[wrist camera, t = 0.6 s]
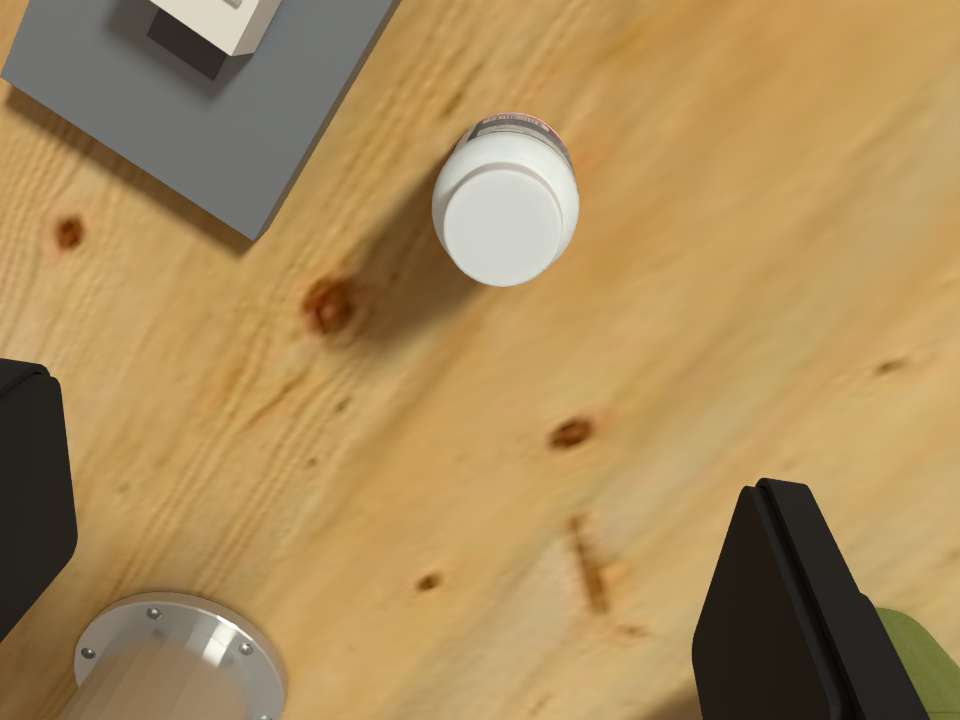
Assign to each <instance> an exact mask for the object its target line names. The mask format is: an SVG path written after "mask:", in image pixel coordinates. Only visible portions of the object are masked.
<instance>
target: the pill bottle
mask: <svg viewBox="0 0 960 720" xmlns="http://www.w3.org/2000/svg"><path fill="white" fill-rule="evenodd" d="M578 215H579V194H578V189H577V185H576V180H575V175H574V171H573V167H572V163H571V159H570V156H569V154H568V151H567V149H566V147H565V145H564V143H563V141H562V140H561V138H560V137H559V136H558V134H557V133H556V132H555V131H554V130H553V129H552V128H551V127H550V126H548V125H547V124H546V123H545V122H543V121H541V120H539V119H538V118H536V117H533V116H530V115H527V114H523V113H500V114H495V115H492V116H489V117H487V118H485V119H483V120H481V121H479V122H478V123H476V124H475V125H474V126H472V127H471V128H470V129H469V130H468V131H467V132H466V133H465V134H464V135H463V137H462V138H461V139H460V140H459V142H458V143H457V145H456V146H455V148H454V150H453V152H452V154H451V155H450V157H449V159H448V160H447V161H446V163H445V164H444V166H443V167H442V169H441V171H440V174H439V176H438V178H437V181H436V183H435V187H434V192H433V197H432V218H433V223H434V227H435V231H436V234H437V236H438V239H439V241H440V242H441V244H442V246H443V247H444V249H445V250H446V252H447V253H448V254H449V255H450V257H451V258H452V260H453V261H454V263H455V264H456V265H457V267H458V268H459V269H460V270H461V271H463V272H464V273H465V274H466V275H468V276H469V277H471V278H472V279H474V280H476V281H478V282H480V283H483V284H486V285H490V286H496V287H510V286H516V285H520V284H523V283H525V282H528V281H530V280H532V279H533V278H535V277H537V276H538V275H539V274H540V273H542V272H543V271H544V270H545V269H546V268H548V267H549V266H550V265H551V264H553V263H554V262H555V261H556V260H557V259H558V258H559V257H560V256H561V254H562V253H563V252H564V250H565V249H566V248H567V246H568V244H569V242H570V240H571V238H572V236H573V234H574V231H575V228H576V225H577V221H578Z"/></svg>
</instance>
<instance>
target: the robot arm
mask: <svg viewBox="0 0 960 720" xmlns="http://www.w3.org/2000/svg"><path fill="white" fill-rule="evenodd" d="M77 539H78V532H77V524H76V515H75V506H74V498H73V489H72V480H71V472H70V463H69V454H68V446H67V437H66V428H65V420H64V411H63V403H62V394H61V387H60V383H59V382H58V380H57V379H56V378H54V377H51V376H50V373H49V372H48V370H47V368H46V367H44V366H43V365H41V364H36V363H29V362H23V361H16V360H10V359H4V358H0V643H1V642H2V640H3V639H4V638H5V637H6V636H7V634H8V633H9V632H10V631H11V630H12V629H13V627H14V626H15V625H16V624H17V623H18V621H19V620H20V619H21V618H22V617H23V615H24V614H25V613H26V612H27V611H28V610H29V608H30V607H31V606H32V605H33V604H34V602H35V601H36V600H37V599H38V598H39V596H40V595H41V594H42V593H43V592H44V591H45V589H46V588H47V587H48V586H49V585H50V583H51V582H52V581H53V580H54V579H55V577H56V576H57V575H58V574H59V573H60V572H61V570H62V569H63V568H64V567H65V566H66V564H67V563H68V562H69V560H70V559H71V558H72V556H73V553H74V551H75V548H76V545H77ZM692 663H693V669H694V674H695V680H696V685H697V690H698V695H699V700H700V706H701V711H702V716H703V720H930V718H929V716H928V714H927V712H926V710H925V708H924V706H923V704H922V702H921V700H920V698H919V696H918V694H917V692H916V690H915V688H914V686H913V684H912V682H911V680H910V678H909V676H908V674H907V672H906V670H905V668H904V666H903V664H902V661H901V659H900V657H899V655H898V653H897V651H896V649H895V647H894V645H893V643H892V641H891V639H890V637H889V635H888V633H887V631H886V629H885V627H884V625H883V623H882V621H881V619H880V617H879V615H878V613H877V611H876V609H875V607H874V605H873V604H872V603H871V601H870V600H869V598H868V597H867V596H865V595H864V594H862V593H860V591H859V589H858V587H857V585H856V583H855V581H854V579H853V577H852V575H851V573H850V571H849V569H848V567H847V565H846V563H845V560H844V558H843V556H842V554H841V552H840V550H839V548H838V546H837V544H836V542H835V540H834V538H833V536H832V534H831V532H830V530H829V528H828V526H827V523H826V521H825V519H824V517H823V515H822V513H821V511H820V509H819V507H818V505H817V503H816V501H815V499H814V497H813V495H812V493H811V491H810V489H809V487H808V486H807V485H805V484H801V483H795V482H788V481H782V480H776V479H769V478H761V479H759V481H758V482H757V484H756V486H755V487H751V486H745V487H743V489H742V490H741V493H740V495H739V498H738V501H737V504H736V507H735V510H734V513H733V516H732V519H731V522H730V526H729V529H728V532H727V535H726V538H725V541H724V544H723V547H722V550H721V553H720V556H719V559H718V562H717V566H716V569H715V572H714V575H713V578H712V581H711V584H710V587H709V590H708V593H707V596H706V599H705V602H704V605H703V609H702V612H701V615H700V618H699V621H698V624H697V627H696V630H695V633H694V637H693V643H692ZM73 666H74V673H75V679H76V683H77V685H78V690H77V691H76V692H75V694H74V695H73V697H72V698H71V700H70V701H69V703H68V704H67V706H66V707H65V709H64V710H63V711H62V713H61V714H60V716H59V717H58V719H57V720H280V718H281V716H282V713H283V711H284V708H285V704H286V700H287V679H286V675H285V671H284V667H283V664H282V662H281V660H280V658H279V656H278V654H277V652H276V651H275V649H274V648H273V647H272V645H271V644H270V643H269V641H268V640H267V639H266V637H265V636H264V635H263V634H262V633H261V632H260V631H258V630H257V629H256V628H255V627H254V626H253V625H252V624H251V623H250V622H248V621H247V620H245V619H244V618H242V617H241V616H239V615H238V614H236V613H235V612H233V611H232V610H230V609H227V608H225V607H223V606H221V605H219V604H217V603H215V602H212V601H209V600H206V599H203V598H200V597H196V596H193V595H187V594H181V593H174V592H150V593H143V594H137V595H132V596H130V597H127V598H124V599H121V600H118V601H116V602H114V603H113V604H111V605H110V606H108V607H106V608H105V609H103V610H102V611H101V612H100V613H99V614H98V615H97V616H96V617H95V618H94V619H93V620H92V621H91V623H90V624H89V626H88V627H87V628H86V630H85V631H84V633H83V634H82V636H81V637H80V639H79V641H78V644H77V646H76V649H75V656H74V665H73Z"/></svg>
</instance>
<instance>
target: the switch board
mask: <svg viewBox="0 0 960 720" xmlns="http://www.w3.org/2000/svg"><path fill="white" fill-rule="evenodd" d="M400 2H401V0H282V1H281V3H280V5H279V6H278V8H277V10H276V12H275V14H274V16H273V18H272V20H271V22H270V24H269V26H268V27H267V29H266V31H265V33H264V35H263V37H262V39H261V41H260V43H259V45H258V47H257V49H256V50H255V52H254V53H249V54H242V55H236V56H230V55H228V54H227V53H226V52H224V51H223V50H221V49H220V48H218V47H217V46H215V45H214V44H213V43H211V42H210V41H208V40H207V39H205V38H204V37H202V36H201V35H200V34H198V33H197V32H195V31H194V30H192V29H191V28H189V27H188V26H187V25H185V24H184V23H182V22H181V21H179V20H178V19H176V18H175V17H173V16H172V15H171V14H169V13H168V12H166V11H165V10H163V9H162V8H160V7H159V6H158V5H156V4H155V3H153V2H152V1H150V0H30V2H29V4H28V7H27V9H26V12H25V14H24V17H23V19H22V22H21V24H20V27H19V29H18V32H17V34H16V37H15V39H14V42H13V45H12V47H11V50H10V52H9V55H8V57H7V60H6V62H5V65H4V67H3V70H2V72H1V75H0V77H1V78H3V79H4V80H6V81H7V82H9V83H10V84H12V85H13V86H15V87H16V88H18V89H20V90H21V91H23V92H24V93H26V94H27V95H29V96H30V97H32V98H33V99H35V100H37V101H38V102H40V103H41V104H43V105H44V106H46V107H47V108H49V109H50V110H52V111H53V112H55V113H57V114H58V115H60V116H61V117H63V118H64V119H66V120H67V121H69V122H70V123H72V124H73V125H75V126H77V127H78V128H80V129H81V130H83V131H84V132H86V133H87V134H89V135H90V136H92V137H93V138H95V139H97V140H98V141H100V142H101V143H103V144H104V145H106V146H107V147H109V148H110V149H112V150H113V151H115V152H117V153H118V154H120V155H121V156H123V157H124V158H126V159H127V160H129V161H130V162H132V163H133V164H135V165H137V166H138V167H140V168H141V169H143V170H144V171H146V172H147V173H149V174H150V175H152V176H154V177H155V178H157V179H158V180H160V181H161V182H163V183H164V184H166V185H167V186H169V187H170V188H172V189H174V190H175V191H177V192H178V193H180V194H181V195H183V196H184V197H186V198H187V199H189V200H190V201H192V202H194V203H195V204H197V205H198V206H200V207H201V208H203V209H204V210H206V211H207V212H209V213H210V214H212V215H214V216H215V217H217V218H218V219H220V220H221V221H223V222H224V223H226V224H227V225H229V226H230V227H232V228H234V229H235V230H237V231H238V232H240V233H241V234H243V235H244V236H246V237H247V238H249V239H250V240H252V241H254V240H256V239H257V238H258V237H259V236H261V235H262V234H263V233H264V232H266V231H267V230H268V228H269V227H270V225H271V223H272V222H273V220H274V218H275V216H276V215H277V213H278V211H279V210H280V208H281V206H282V204H283V203H284V201H285V199H286V198H287V196H288V194H289V192H290V191H291V189H292V187H293V186H294V184H295V182H296V180H297V179H298V177H299V175H300V174H301V172H302V170H303V168H304V167H305V165H306V163H307V162H308V160H309V158H310V156H311V155H312V153H313V151H314V150H315V148H316V146H317V144H318V143H319V141H320V139H321V138H322V136H323V134H324V132H325V131H326V129H327V127H328V126H329V124H330V122H331V120H332V119H333V117H334V115H335V114H336V112H337V110H338V108H339V107H340V105H341V103H342V102H343V100H344V98H345V96H346V95H347V93H348V91H349V90H350V88H351V86H352V84H353V83H354V81H355V79H356V78H357V76H358V74H359V72H360V71H361V69H362V67H363V66H364V64H365V62H366V60H367V59H368V57H369V55H370V54H371V52H372V50H373V48H374V47H375V45H376V43H377V42H378V40H379V38H380V36H381V35H382V33H383V31H384V30H385V28H386V26H387V24H388V23H389V21H390V19H391V18H392V16H393V14H394V12H395V11H396V9H397V7H398V5H399V4H400Z"/></svg>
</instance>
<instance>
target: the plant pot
mask: <svg viewBox="0 0 960 720" xmlns="http://www.w3.org/2000/svg"><path fill="white" fill-rule="evenodd" d="M875 609H876V611H877V613H878V615H879V617H880V619H881V621H882V623H883V625H884V627H885V629H886V631H887V633H888V635H889V637H890V639H891V641H892V643H893V645H894V647H895V649H896V651H897V653H898V655H899V657H900V659H901V661H902V664H903V666H904V668H905V670H906V672H907V674H908V676H909V678H910V680H911V682H912V684H913V686H914V688H915V690H916V692H917V694H918V696H919V698H920V700H921V702H922V704H923V706H924V708H925V710H926V712H927V714H928V716H929V718H930V720H960V668H959V667H958V666H957V664H956V663H955V662H954V661H953V660H952V659H951V657H950V656H949V655H948V654H947V653H946V652H945V651H944V649H943V648H942V647H941V646H940V645H939V644H938V643H937V642H936V640H935V639H934V638H933V637H932V636H931V635H930V634H929V633H928V631H927V630H926V629H925V628H924V627H922V626H921V625H920V624H919V623H918V622H917V621H916V620H914V619H913V618H911V617H909V616H908V615H905V614H903V613H900V612H897V611H893V610H890V609H884V608H875Z"/></svg>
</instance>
